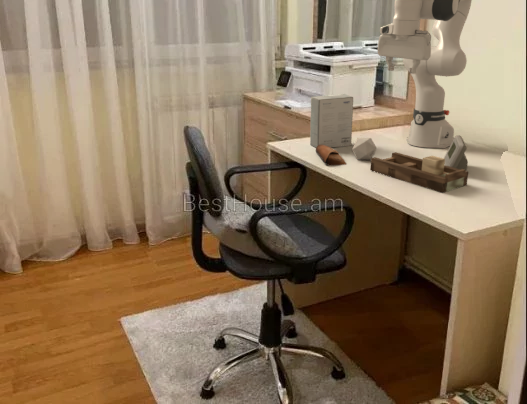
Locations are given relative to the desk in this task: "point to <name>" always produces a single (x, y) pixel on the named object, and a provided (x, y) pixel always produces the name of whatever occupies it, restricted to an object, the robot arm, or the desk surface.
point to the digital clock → (456, 154)
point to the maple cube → (433, 165)
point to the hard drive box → (331, 120)
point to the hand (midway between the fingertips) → (401, 71)
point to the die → (364, 148)
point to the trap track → (419, 172)
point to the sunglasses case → (329, 155)
